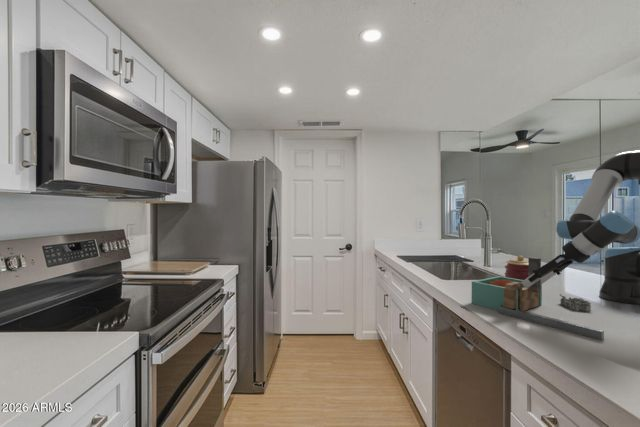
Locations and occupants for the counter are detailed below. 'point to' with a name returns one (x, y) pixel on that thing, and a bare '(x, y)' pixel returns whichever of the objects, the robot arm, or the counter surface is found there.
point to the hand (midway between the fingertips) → (531, 283)
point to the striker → (523, 290)
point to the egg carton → (576, 303)
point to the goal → (493, 292)
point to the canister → (517, 268)
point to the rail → (553, 322)
